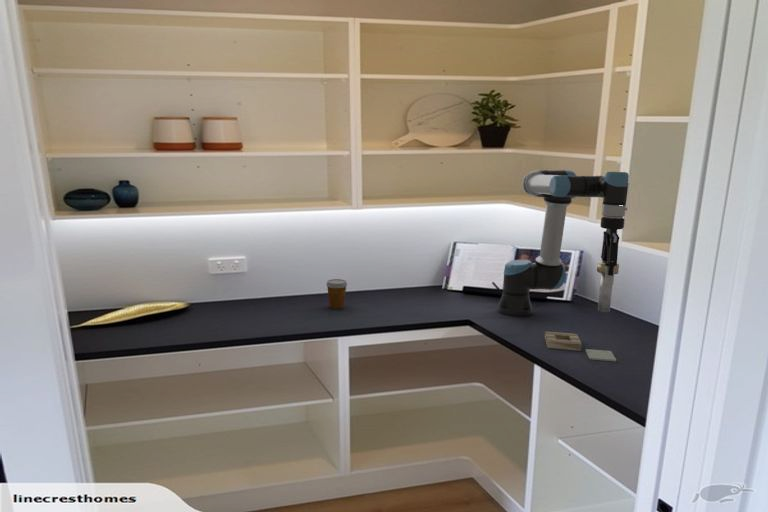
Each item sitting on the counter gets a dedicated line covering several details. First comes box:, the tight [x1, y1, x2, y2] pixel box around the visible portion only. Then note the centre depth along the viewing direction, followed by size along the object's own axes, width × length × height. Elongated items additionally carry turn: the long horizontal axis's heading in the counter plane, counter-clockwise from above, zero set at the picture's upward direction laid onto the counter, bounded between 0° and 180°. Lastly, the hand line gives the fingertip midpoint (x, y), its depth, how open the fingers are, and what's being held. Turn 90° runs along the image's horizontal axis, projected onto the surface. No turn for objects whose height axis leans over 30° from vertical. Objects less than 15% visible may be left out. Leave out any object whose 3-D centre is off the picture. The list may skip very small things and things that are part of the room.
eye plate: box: [544, 331, 583, 352], centre depth 214 cm, size 12×12×2 cm
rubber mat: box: [584, 348, 617, 363], centre depth 203 cm, size 9×9×1 cm
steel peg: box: [596, 261, 620, 313], centre depth 198 cm, size 7×7×17 cm
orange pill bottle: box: [326, 278, 348, 310], centre depth 255 cm, size 10×10×12 cm
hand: (606, 281), depth 198 cm, fingers closed on steel peg, 7 cm apart
